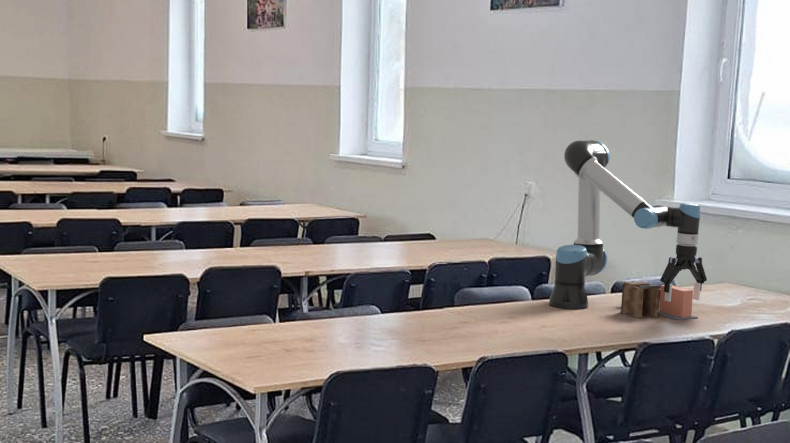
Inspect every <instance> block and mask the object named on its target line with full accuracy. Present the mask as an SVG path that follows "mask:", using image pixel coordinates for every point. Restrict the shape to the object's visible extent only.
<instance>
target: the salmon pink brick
mask: <svg viewBox="0 0 790 443" xmlns="http://www.w3.org/2000/svg"><path fill="white" fill-rule="evenodd" d="M664 285H665V284H661V285H660V288H659V289H660V303H659V311H662V312H665V313H668V314H672V315H675V316H678V317H691V315H693V313H692V311H693V300H694V299H693V292H694V290H692V289H687V288H684V287H680V286H677V285H673V284H672V293H671V302H668V301H665V300H664V299H665V292H664Z"/></svg>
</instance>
